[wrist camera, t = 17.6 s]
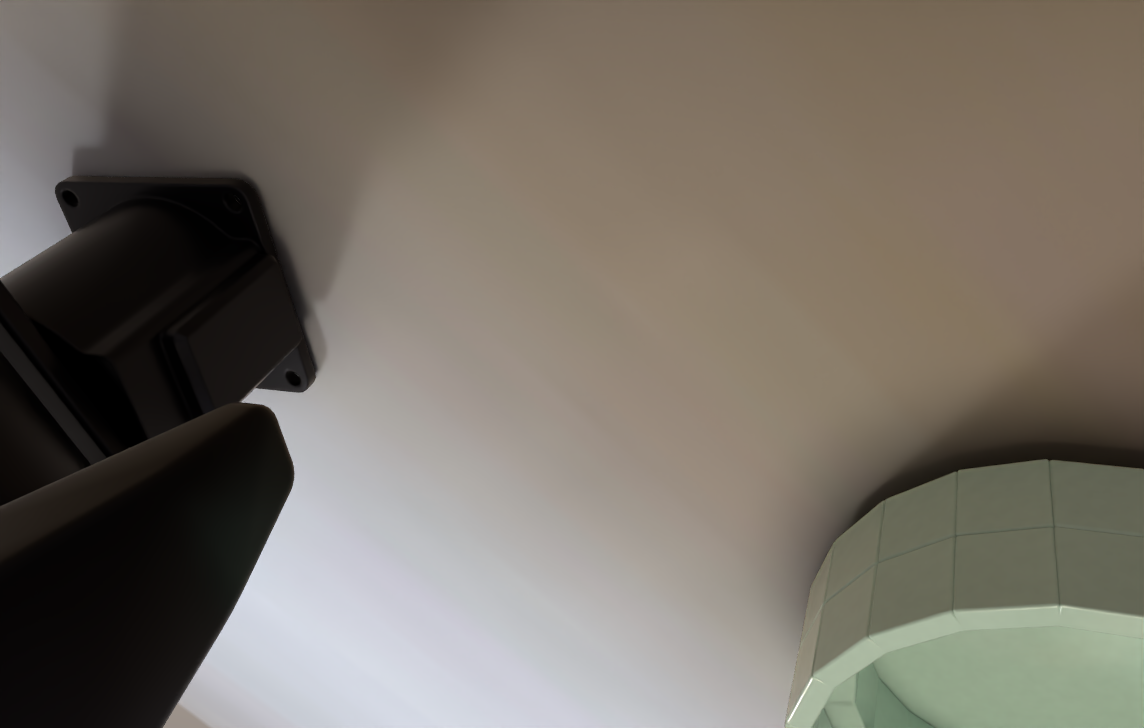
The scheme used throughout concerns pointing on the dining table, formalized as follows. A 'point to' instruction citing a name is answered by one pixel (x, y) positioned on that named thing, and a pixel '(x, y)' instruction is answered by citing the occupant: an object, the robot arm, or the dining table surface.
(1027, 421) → the dining table surface
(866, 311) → the dining table surface
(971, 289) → the dining table surface
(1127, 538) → the basin
